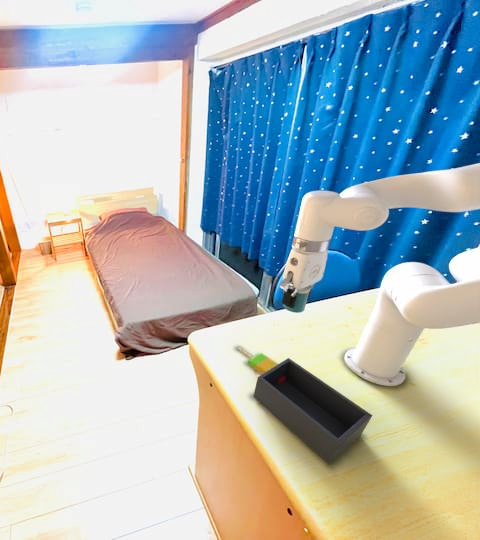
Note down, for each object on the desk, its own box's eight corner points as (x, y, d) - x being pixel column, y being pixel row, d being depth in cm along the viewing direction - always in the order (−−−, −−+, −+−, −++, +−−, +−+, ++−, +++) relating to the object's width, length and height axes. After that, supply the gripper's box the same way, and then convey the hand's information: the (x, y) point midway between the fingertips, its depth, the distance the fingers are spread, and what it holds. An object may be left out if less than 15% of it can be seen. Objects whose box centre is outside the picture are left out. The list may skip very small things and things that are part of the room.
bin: (282, 377, 76) (288, 357, 73) (360, 436, 61) (372, 415, 58) (253, 396, 72) (257, 376, 68) (329, 465, 57) (340, 444, 53)
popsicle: (232, 355, 86) (278, 388, 75) (231, 349, 85) (277, 382, 73) (244, 345, 88) (291, 375, 76) (243, 339, 86) (291, 369, 74)
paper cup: (291, 299, 81) (296, 279, 78) (309, 308, 77) (315, 287, 74) (278, 305, 80) (283, 284, 76) (296, 315, 75) (301, 293, 72)
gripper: (302, 257, 63) (286, 320, 71) (348, 239, 69) (328, 299, 77) (273, 246, 69) (261, 305, 78) (317, 230, 75) (302, 287, 83)
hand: (295, 301), depth 77 cm, fingers closed on paper cup, 5 cm apart
